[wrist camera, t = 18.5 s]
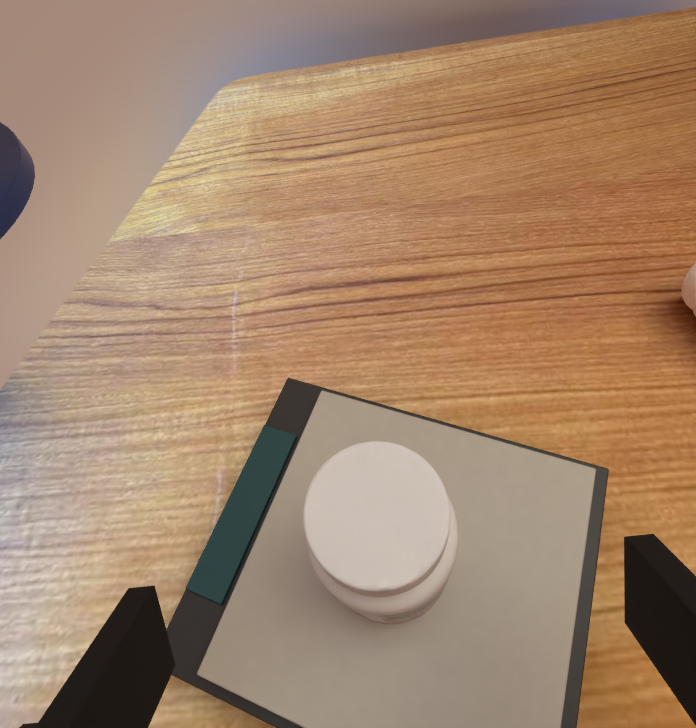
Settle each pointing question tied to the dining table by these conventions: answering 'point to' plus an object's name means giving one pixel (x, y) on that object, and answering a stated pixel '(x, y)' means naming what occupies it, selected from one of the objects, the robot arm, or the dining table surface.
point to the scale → (415, 637)
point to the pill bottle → (381, 531)
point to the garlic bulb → (690, 289)
